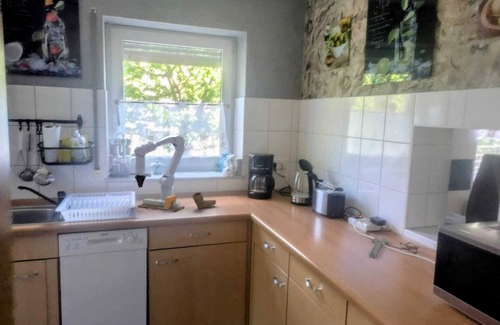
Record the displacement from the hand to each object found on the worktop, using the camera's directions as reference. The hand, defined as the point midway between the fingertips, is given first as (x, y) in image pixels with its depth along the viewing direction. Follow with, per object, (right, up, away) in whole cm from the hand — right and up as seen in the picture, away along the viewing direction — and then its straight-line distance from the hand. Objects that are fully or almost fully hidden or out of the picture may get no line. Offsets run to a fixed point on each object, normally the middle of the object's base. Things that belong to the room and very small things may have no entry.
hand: (140, 187), depth 217 cm
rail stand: (+15, -12, -7) cm, 20 cm away
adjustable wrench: (+124, -23, -65) cm, 142 cm away
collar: (+21, -11, -9) cm, 25 cm away
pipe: (+41, -13, -4) cm, 43 cm away
